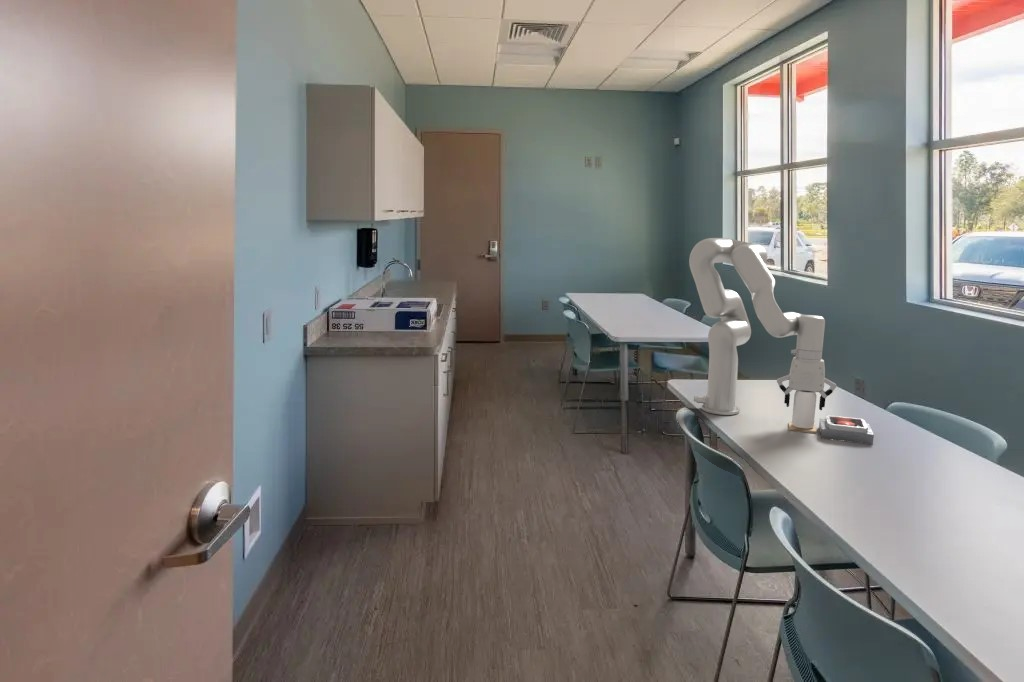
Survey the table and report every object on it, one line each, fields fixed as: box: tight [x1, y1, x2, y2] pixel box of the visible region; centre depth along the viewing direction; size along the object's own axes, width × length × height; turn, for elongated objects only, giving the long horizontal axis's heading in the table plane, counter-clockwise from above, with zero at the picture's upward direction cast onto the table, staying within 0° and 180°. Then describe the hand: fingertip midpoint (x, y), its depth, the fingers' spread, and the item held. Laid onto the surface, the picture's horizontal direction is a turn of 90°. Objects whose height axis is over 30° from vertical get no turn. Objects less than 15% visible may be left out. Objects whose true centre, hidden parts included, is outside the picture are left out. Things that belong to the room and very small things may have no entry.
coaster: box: [788, 421, 818, 434], centre depth 212 cm, size 8×8×1 cm
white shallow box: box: [818, 414, 875, 445], centre depth 204 cm, size 14×12×4 cm
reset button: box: [837, 421, 855, 426], centre depth 204 cm, size 5×5×3 cm
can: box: [791, 390, 818, 429], centre depth 211 cm, size 6×6×12 cm
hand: (803, 407), depth 211 cm, fingers open, 9 cm apart
